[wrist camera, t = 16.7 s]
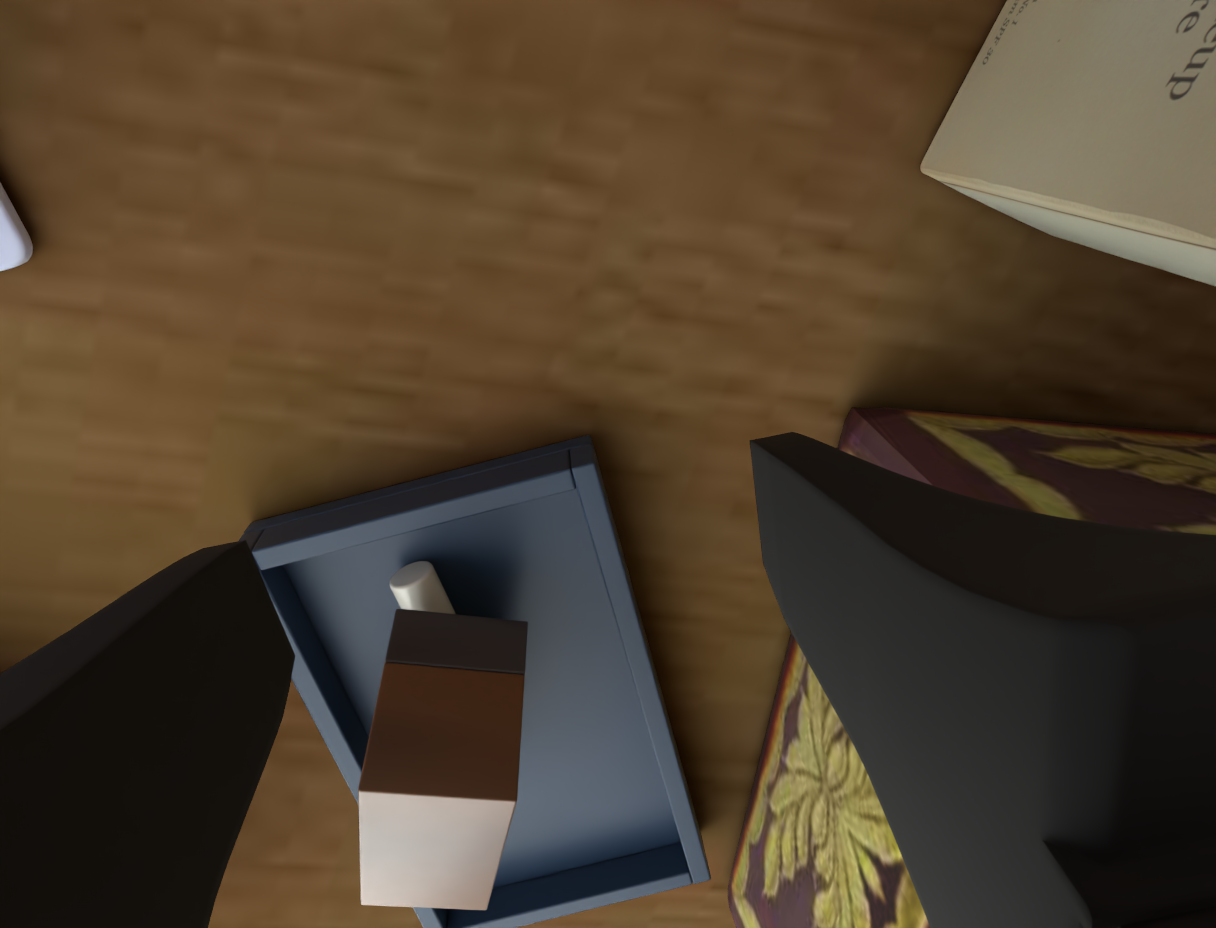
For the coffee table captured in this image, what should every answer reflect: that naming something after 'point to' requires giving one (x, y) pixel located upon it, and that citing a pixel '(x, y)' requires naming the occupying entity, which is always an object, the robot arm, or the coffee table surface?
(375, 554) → the tray
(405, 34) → the coffee table surface
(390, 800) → the eraser
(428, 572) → the chalk
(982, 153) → the cosmetic box
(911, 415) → the decorative box
